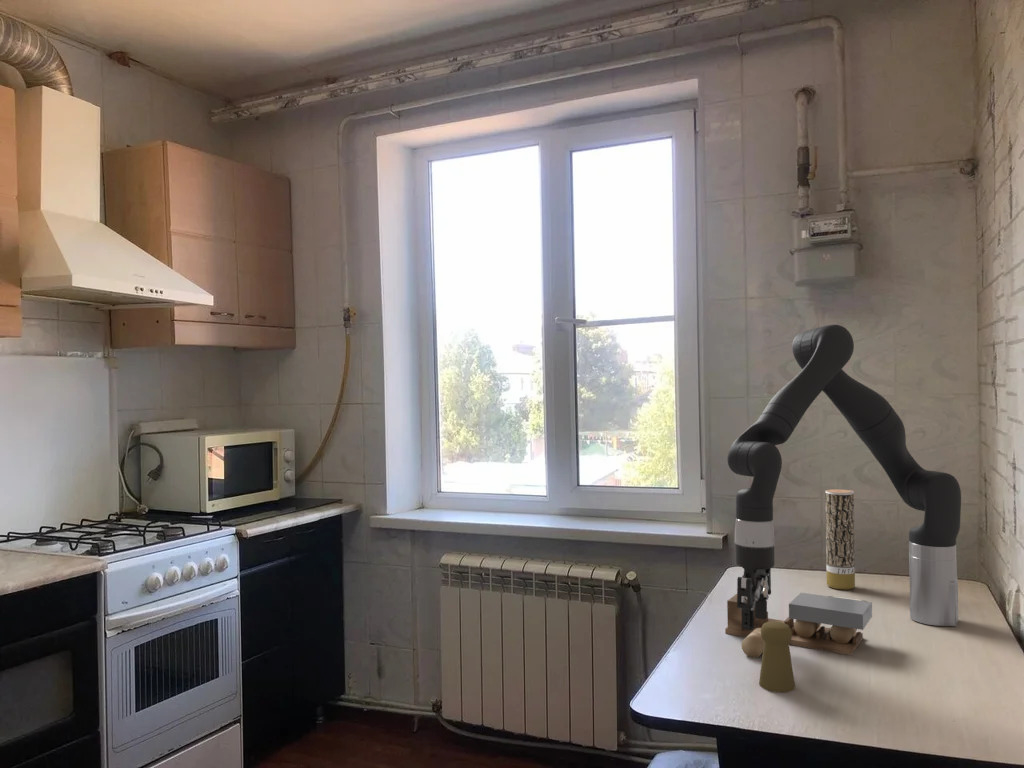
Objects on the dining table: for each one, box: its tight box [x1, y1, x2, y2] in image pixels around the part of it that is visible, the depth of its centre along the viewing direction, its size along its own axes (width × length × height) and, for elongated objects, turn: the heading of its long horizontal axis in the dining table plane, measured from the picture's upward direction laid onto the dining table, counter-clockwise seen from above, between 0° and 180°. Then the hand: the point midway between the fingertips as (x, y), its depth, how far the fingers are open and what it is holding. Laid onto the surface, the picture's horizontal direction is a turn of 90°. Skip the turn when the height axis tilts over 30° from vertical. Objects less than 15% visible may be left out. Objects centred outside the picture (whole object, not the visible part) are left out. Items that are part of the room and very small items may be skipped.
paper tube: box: [824, 488, 856, 591], centre depth 198 cm, size 7×7×25 cm
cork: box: [758, 621, 796, 693], centre depth 134 cm, size 6×6×11 cm
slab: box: [788, 592, 873, 631], centre depth 156 cm, size 14×10×3 cm
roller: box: [741, 628, 764, 659], centre depth 151 cm, size 4×6×4 cm, turn 146°
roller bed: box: [724, 589, 864, 656], centre depth 161 cm, size 25×12×7 cm, turn 56°
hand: (754, 623), depth 151 cm, fingers open, 8 cm apart
